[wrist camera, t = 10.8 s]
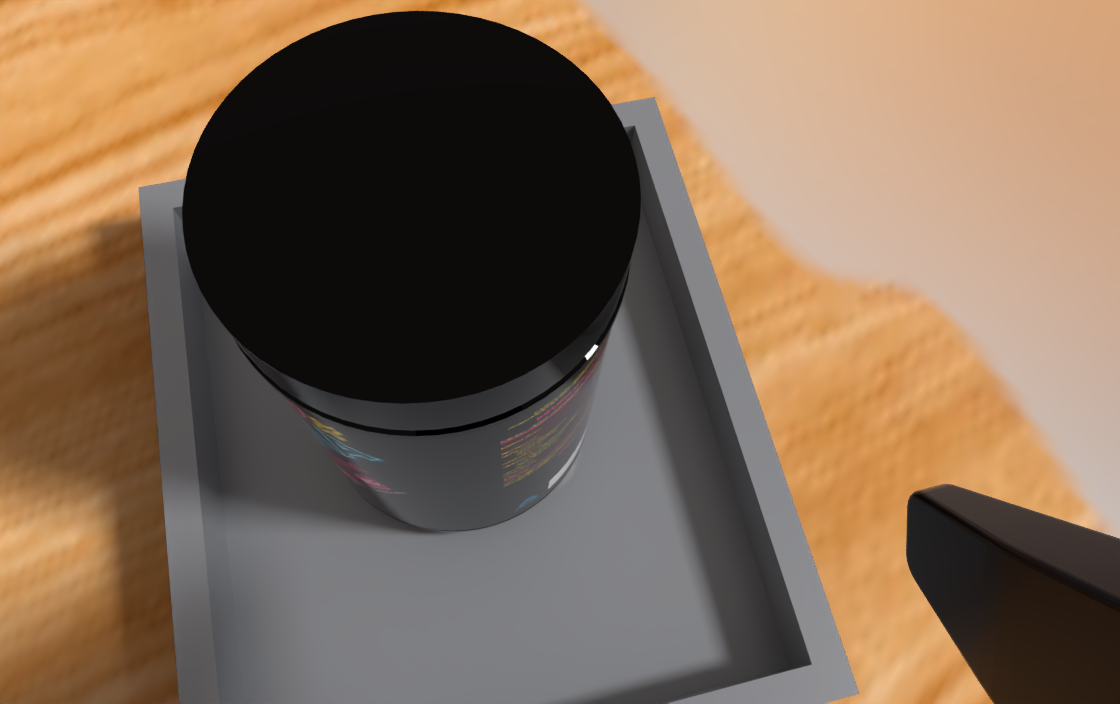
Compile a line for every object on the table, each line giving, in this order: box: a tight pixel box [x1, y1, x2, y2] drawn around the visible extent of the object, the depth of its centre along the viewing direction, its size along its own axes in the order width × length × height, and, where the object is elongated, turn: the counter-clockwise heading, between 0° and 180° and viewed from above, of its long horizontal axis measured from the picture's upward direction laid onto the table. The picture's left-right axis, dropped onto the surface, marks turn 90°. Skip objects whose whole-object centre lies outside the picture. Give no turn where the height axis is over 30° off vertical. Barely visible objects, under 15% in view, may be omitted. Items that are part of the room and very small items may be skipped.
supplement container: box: [182, 11, 641, 532], centre depth 18 cm, size 7×7×10 cm
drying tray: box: [139, 97, 859, 704], centre depth 22 cm, size 16×14×2 cm
